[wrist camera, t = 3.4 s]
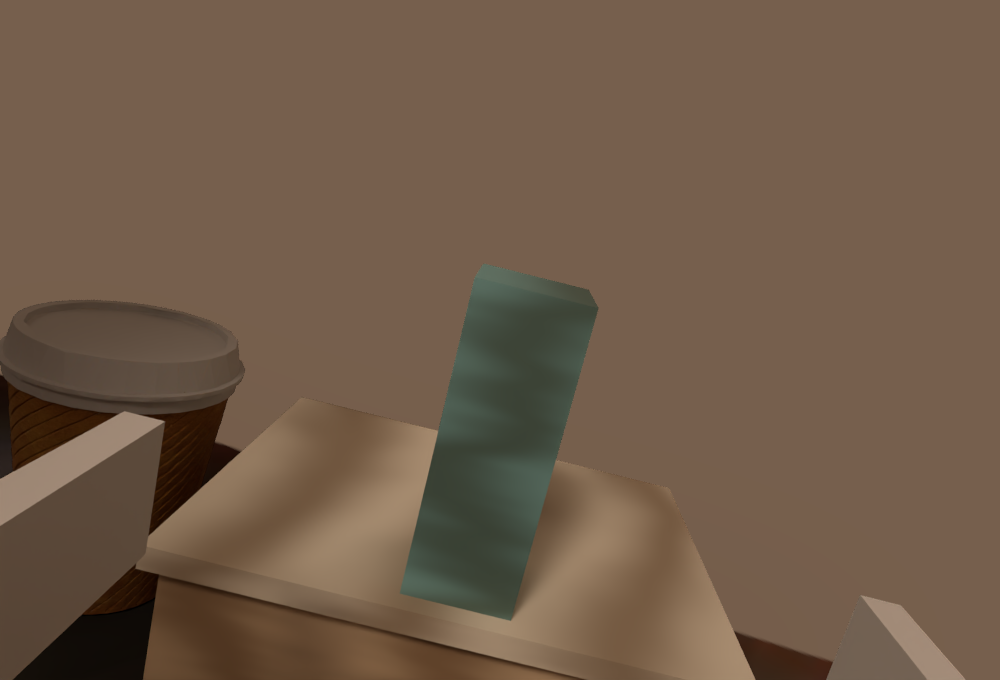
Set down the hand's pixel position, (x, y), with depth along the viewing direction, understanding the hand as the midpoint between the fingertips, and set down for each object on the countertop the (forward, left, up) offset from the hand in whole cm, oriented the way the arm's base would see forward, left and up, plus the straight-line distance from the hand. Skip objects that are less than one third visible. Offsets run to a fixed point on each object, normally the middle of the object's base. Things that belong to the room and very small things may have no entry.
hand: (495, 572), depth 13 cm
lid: (0, +14, -7) cm, 16 cm away
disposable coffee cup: (-16, +17, -15) cm, 28 cm away
